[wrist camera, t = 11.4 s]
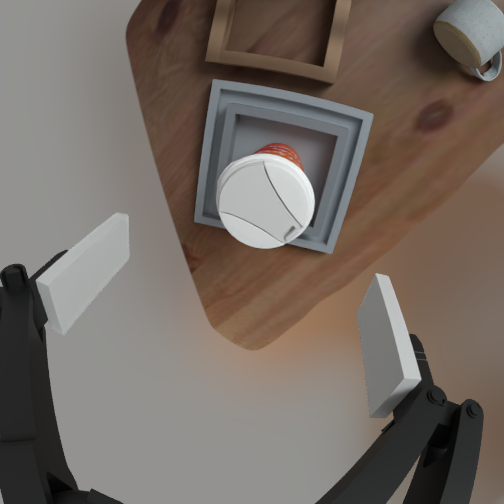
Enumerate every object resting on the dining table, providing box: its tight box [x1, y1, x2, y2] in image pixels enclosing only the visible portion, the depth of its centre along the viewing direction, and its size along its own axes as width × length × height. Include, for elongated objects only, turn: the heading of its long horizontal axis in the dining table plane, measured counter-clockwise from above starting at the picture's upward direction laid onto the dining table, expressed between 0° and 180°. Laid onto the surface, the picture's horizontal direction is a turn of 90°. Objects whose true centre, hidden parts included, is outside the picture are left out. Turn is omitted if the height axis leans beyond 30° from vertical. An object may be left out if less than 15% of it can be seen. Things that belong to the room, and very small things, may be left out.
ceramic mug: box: [433, 0, 504, 81], centre depth 19 cm, size 11×8×8 cm
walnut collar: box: [205, 0, 352, 85], centre depth 24 cm, size 14×14×2 cm
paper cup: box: [216, 143, 315, 249], centre depth 28 cm, size 8×8×14 cm
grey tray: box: [194, 79, 374, 254], centre depth 33 cm, size 18×18×3 cm
